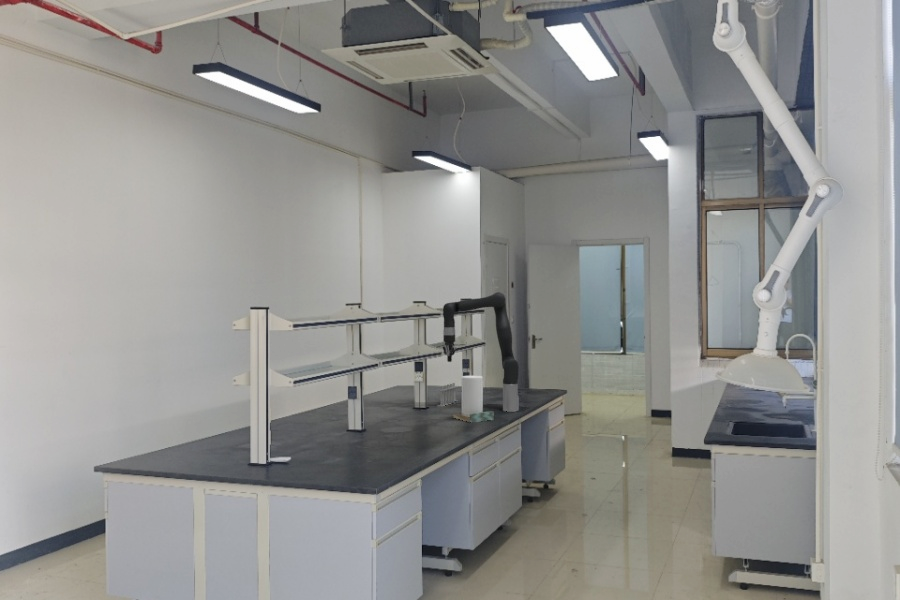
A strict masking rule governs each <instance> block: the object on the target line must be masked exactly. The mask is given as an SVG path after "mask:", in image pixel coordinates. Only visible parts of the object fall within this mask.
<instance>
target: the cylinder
mask: <svg viewBox="0 0 900 600" xmlns="http://www.w3.org/2000/svg"><path fill="white" fill-rule="evenodd" d="M483 381H484V377H483V375H462V376H461V415H465V416H469V417H470V414H472V413H481V412H484V411H483V409H484V408H483V407H484V406H483V404H484V403H483V402H484V401H483V398H484V397H483V396H484V394H483V393H484V391H483V390H484V388H483V387H484V382H483Z"/></svg>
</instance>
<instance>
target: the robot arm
mask: <svg viewBox="0 0 900 600" xmlns="http://www.w3.org/2000/svg"><path fill="white" fill-rule="evenodd" d="M506 301H507V300H506V296H505V295H504V293H502V292H499V291H497V292H494V293H493V294H491V295H489V296H486V297H479V298H470V299H463V300H460V301H453V302H447V303H445V304H444V305H443V307H442V313H443V332H442V334H443V340H442V341H443V342H444V346H442V350H443V353H444V354H445V355H446V356H447V357H446V358H447V359H446V361H447V362H448V363H452V362H453V356H454V355H455V353H456V351H457V347H455V342H456V325H455V324H456V322H455V321H456V320H455V314H456V313H460V312H469V311H474V310H479V309H485V308H493V311H494V314H495V331H496V336H497V340H498V345H499V348H500V353H501V366H502V369H503V379H502V411H503V412H506V411H507V413H512V412H513V413H514V412H517V411H519V410H520V407H519V405H520V404H519V403H520V401H519V400H520V399H519V398H520V396H519V395H518V394H519V393H518V391H519V390H518V381H519V367H520V366H519V362H518V361H517V360H516V359H515V356H514V352H513V334H512V333H513V332H512V328H511V324H510V320H509V317H508V311H507V303H506Z"/></svg>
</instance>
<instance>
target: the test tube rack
mask: <svg viewBox="0 0 900 600" xmlns="http://www.w3.org/2000/svg"><path fill="white" fill-rule="evenodd" d="M440 387H441V388H439V389H437V391H440V400H439V403H440V404H438V405H436V406H445V405H448V404H451V403H449V402H452V401H453V402H454V401H457V399H456V390H457V389H456V388H458V387H459V385H456V382H452V383H449V384H444V385H441V386H440ZM451 405H452V404H451ZM448 406H449V405H448ZM445 407H446V406H445Z"/></svg>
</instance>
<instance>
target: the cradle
mask: <svg viewBox="0 0 900 600" xmlns="http://www.w3.org/2000/svg"><path fill="white" fill-rule="evenodd" d="M494 414H495V412H494V411H483V412H481V413H472V414H470V417H469V416H465V415H462V414H460V413H456V412H455V413H453V419H454V418H456V419H455V420H458V419H460V420H459V421H462V420H463V422H466V421H467V423H470V422H471V424H472V422H474V423H481V421H482V422H488V421H487V420H491V421H494V420H495V419H494V417H495V416H494Z"/></svg>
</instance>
